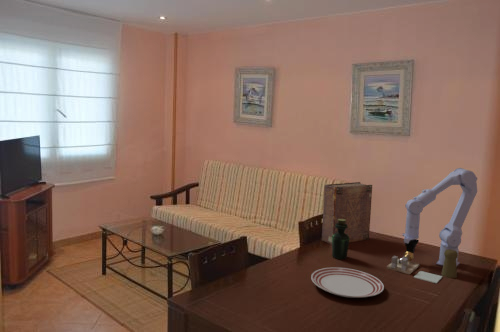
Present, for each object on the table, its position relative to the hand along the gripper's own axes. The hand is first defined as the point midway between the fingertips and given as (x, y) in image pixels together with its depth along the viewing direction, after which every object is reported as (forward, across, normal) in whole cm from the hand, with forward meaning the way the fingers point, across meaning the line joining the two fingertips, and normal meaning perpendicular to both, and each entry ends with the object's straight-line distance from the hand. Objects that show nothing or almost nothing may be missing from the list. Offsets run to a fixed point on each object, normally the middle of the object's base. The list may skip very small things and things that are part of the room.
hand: (410, 255), depth 194 cm
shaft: (+2, +7, 0) cm, 7 cm away
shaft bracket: (+3, +8, 0) cm, 9 cm away
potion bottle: (+4, +16, -27) cm, 32 cm away
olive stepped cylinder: (+4, +4, +18) cm, 19 cm away
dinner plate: (+4, +46, -9) cm, 47 cm away
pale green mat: (+3, +13, +12) cm, 18 cm away
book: (+4, -11, -37) cm, 39 cm away
